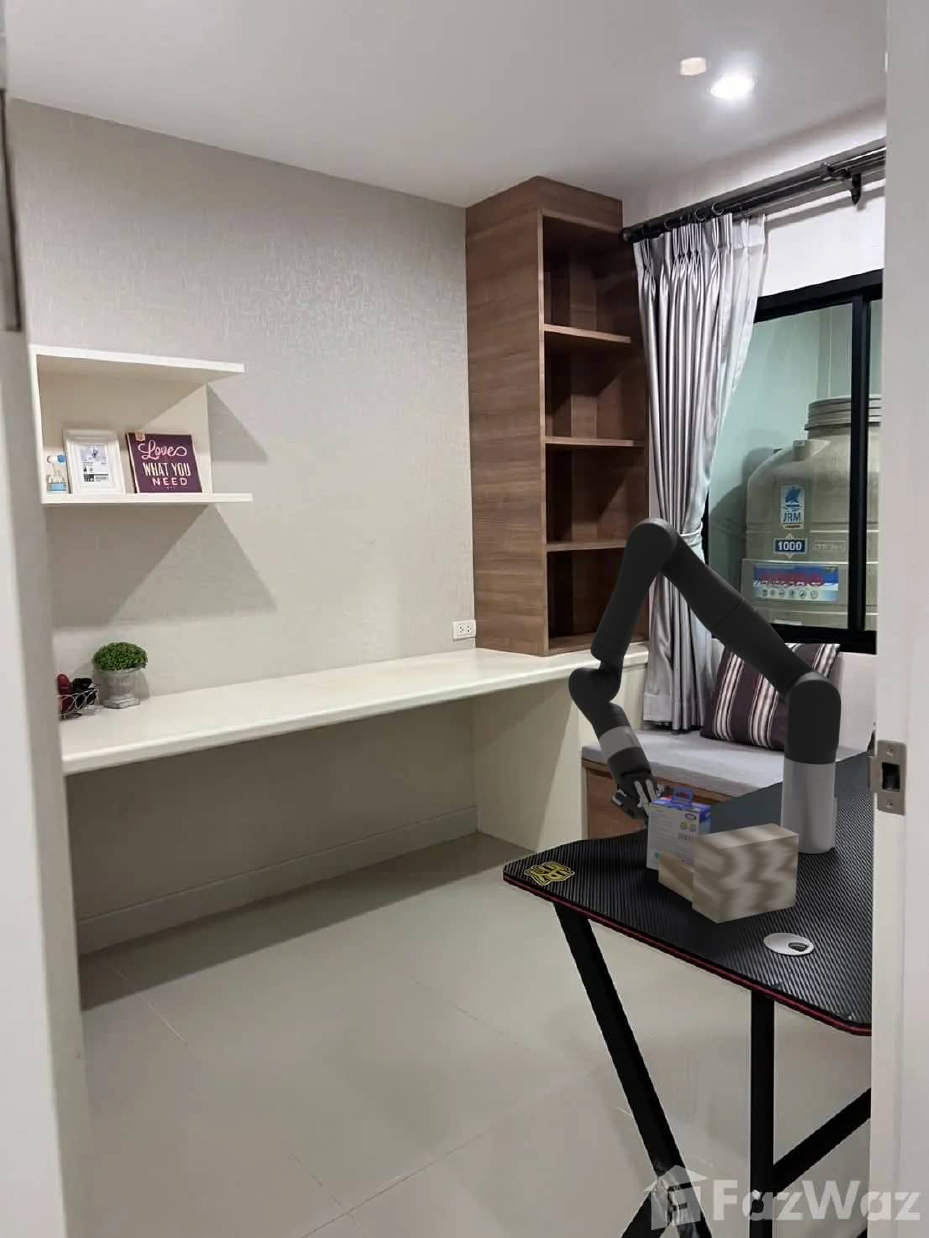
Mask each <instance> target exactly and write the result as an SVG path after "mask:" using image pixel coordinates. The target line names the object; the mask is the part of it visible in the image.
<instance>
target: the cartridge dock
mask: <svg viewBox="0 0 929 1238" xmlns="http://www.w3.org/2000/svg"><path fill="white" fill-rule="evenodd" d="M780 826H781V825H778V824H775V823H773V822H771V823H765V824H760V825H753V826H747V827H741V828H736V829H731V830H725V831H724V830H723V831H717V832H713V833H710V834H706V835H700V836H695V852H694V867H692V866H690V865H688V864H686V863H685V862H683V861H681V860H679V859H677V858H675V857H674V856H672V855H670V854H668V853H662V854H659V870H658V883H660V884H661V885H663V886H665V887H666V888H668V889H670V890H671V891H673V892H675V893H676V894H677V895H679V896H681V897H683V898H685V899H686V900H688V901H689V902H691V903H692V905H691V906H692V907H691V909H692V910H694V911H696V912H698V913H699V914H702V915H703V916H704V917H706V918H708V920H711V921H712V922H714V923H715V924H720V923H726V922H728V921H729V922H731V921H733V920H738V919H743V918H747V917H751V916H756V915H761V914H765V913H768V912H769V913H770V912H773V911H779V910H782V909H788V908H791V907H795V906H796V897H797V896H796V895H797V879H798V878H797V875H798V863H799V862H798V861H799V860H798V859H799V857H798V856H799V852H798V843H799V834H796V833H794V832H792V831H789V830H787V829H785V828H782V827H780Z"/></svg>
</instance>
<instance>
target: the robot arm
mask: <svg viewBox="0 0 929 1238" xmlns="http://www.w3.org/2000/svg"><path fill="white" fill-rule="evenodd" d="M624 546H625V548H624V551H623V557H622V561H621V567H620V571H619V573H618V578H617V580H616V584H615V587H614V588H613V592H612V593H611V597H610V600H609V602H608V603H607V606H606V609H605V610H604V612H603V615H602V618H601V620H600V622H599V625H598V626H597V629H596V632H595V634H594V637H593V639H592V641H591V645H590V651H589V652H590V654H591V656H592V657H593V658H594V659H596V660H597V661H599V662H600V663H599V666H598V667H596V668H595V667H584V666H583V667H577V668H575V669H574V670H573V671H572V672H571V673H570V675H569V677H568V683H567V685H568V687H567V688H568V692H569V694H570V697H571V699H572V702H573V703H574V704H575V705H576V707H577V709H579V711H580V712H581V714H582V715H583V716H584V717H585V718H586V720H587V721H588V722H589V723H590V725H591V726H592V729H593V732H594V733H595V736H596V738H597V741H598V744H599V747H600V750H601V753H602V756H603V759H604V761H605V763H606V765H607V768H608V771H609V773H610V774H611V778H612V780H613V782H614V784H616V792H615V794H614V795H613V796H612V797H611V798H610V802H611V804H613V805H614V806H615V807H617V808H618V809H620V811H622V812H623V813H624V814H626V815H627V816H629V817H630V818H631V819H632V820H634V821H636V820H641V821H642V822H643V823H644V825H645V827H646V830H647V831H648V824H649V803H651V802H653V801H654V800H656V799H658V798H661V797H665V798H670V795H671V791H672V787H671V786H670V785H667V784H666V785H665V786H664V785H662V784H660V783H659V782H658V779H657V778H656V777H655V776H654V775H653V773H652V768H651V767H652V766H651V764H650V762H649V760H648V757H647V756H646V753H645V751H644V749H643V747H642V745H641V742H640V740H639V738H638V736H637V735H636V733H635V732H634V730H633V727H632V726H631V724H630V720H629V719H628V717H627V714H626V713H625V710H624V709H623V708H622V707H621V706H620V705H619V704H616V703H613V702H612V701H613V700H614V699H615V698H616V697H617V695H618V694H619V691H620V690H621V685H622V677H623V670H624V669H623V668H624V662H625V661H624V659H625V656H626V653H627V651H628V650H629V649H628V648H629V647H630V644H631V642H632V639H633V637H634V635H635V631H636V628H637V625H638V622H639V620H640V617H641V613H642V612H641V611H642V609H643V606H644V602H645V599H646V597H647V595H648V592H649V591H650V588H651V587H652V585H653V582H655V579H656V577H657V576H658V575H659V574H660V575H662V576H663V577H664V578H666V579H667V581H668V582H670V584H672V585H673V586H674V587H675V588H676V590H677V591H678V592H679V593H680V594H681V596H682V597H683V599H684V601H685V602H686V604H687V605H688V607H689V608H690V610H691V611H692V613H693V614H694V615H695V617H696V618H697V620H698V621H699V622H700V623H701V625H702V626H703V628H705V629H706V630H707V631H708V632H709V633H710V634H711V635H712V636H713V637H714V638H715V639H716V640H717V641H718V642H719V643H720V644H721V645H723V646H724V647H725V648H726V649H727V650H728V651H729V652H731V653H732V654H733V655H734V656H736V657H737V658H739V659H740V660H741V661H743V662H744V663H746V664H747V665H749V666H750V667H751V668H753V669H754V670H756V671H757V672H758V673H759V674H761V675H762V676H763V677H764V678H765V679H766V681H767V682H768V683H770V685H771V686H772V687H773V689H775V690H776V693H777V694H779V695H780V697H781V698H782V699H783V700H784V702H785V704H786V705H787V722H786V723H787V727H786V729H787V730H786V738H785V741H784V748H783V749H784V750H783V751H784V752H783V769H782V770H783V771H782V772H783V773H782V789H781V811H780V812H781V813H780V825H779V826H780V827H782V828H785V829H787V830H789V831H792V832H794V833H796V834H799V843H798V853H802V854H803V853H804V854H824V853H827V852H829V851H830V850H831V849H832V848H835V845H836V827H837V810H838V809H837V808H838V799H837V798H836V797H834V795H835V779H836V777H835V776H836V763H837V762H836V760H837V759H836V758H837V751H838V748H839V744H840V732H841V721H842V720H841V718H842V697H841V694H840V692H839V690H838V688H837V687H836V685H835V684H834V683H833V682H832V681H831V679H829V678H828V677H827V676H826V675H824V674H822V673H821V672H819V671H818V670H817V669H816V668H815V667H813V666H811V665H810V664H809V663H808V662H807V661H805V660H804V659H803V658H801V656H799V655H798V654H797V653H796V652H795V651H793V649H792V648H790V647H789V645H788V644H786V642H785V641H784V640H783V639H782V637H781V636H780V635H779V634H778V632H777V631H776V630H775V628H773V626H772V625H771V624H770V622H769V621H768V620H767V619H766V618H765V617H764V616H763V615H762V614H761V613H760V612H759V610H757V608H756V607H755V606H754V605H753V604H752V603H750V601H749V600H747V599H746V598H745V597H744V596H743V595H742V594H741V593H740V592H739V591H738V590H737V589H735V587H733V585H731V584H730V583H729V582H728V581H727V580H726V579H724V578H723V577H722V576H721V575H720V574H718V572H716V571H715V569H712V568H711V567H710V566H709V565H708V564H706V563H705V562H704V561H703V559H701V558H700V557H699V556H698V555H697V553H696V552H695V551H694V550H693V549H692V547H691V546H690V545H689V544H688V543H687V542H686V540H685V539H684V538H683V537H682V536H681V534H680V533H679V532H678V531H677V530H676V528H675V527H674V526H673V525H672V524H671V523H670V522H668V521H667V520H665V519H663V518H660V517H659V518H658V517H648V518H645V519H643V520H641V521H640V522H638V523H637V524H635V525H634V526H633V527H632V528H631V529H630V531H629V532H628V533H627V537H626V543H625V545H624Z"/></svg>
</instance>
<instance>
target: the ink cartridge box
mask: <svg viewBox="0 0 929 1238" xmlns="http://www.w3.org/2000/svg"><path fill="white" fill-rule="evenodd" d="M681 793H682V794H685V795H687V796H688V797H687V798H686V797H683V796H682V797H681V796H677V794H681ZM693 796H694V790H689V789H685V788H679V787H674V791H673V792H672V796H671V798H670V797H669V798H665V797H661V798H659V797H657V799H656V800H654V801H653V802H651V803H649V824H648V830H647V833H648V834H647V850H646V866H645V867H646V868H648V869H652V870H656V871H659V854H662V853H668V854H670V855H672V856H674V857H675V858H677V859H679V860H681V861H683V862H685V863H686V864H688V865H690V866H692V867H694V852H695V836H700V835H706V834H711V824H712V823H711V820H712V806H710V805H706V804H701V803H697V802H692V801H693V800H692V799H693Z"/></svg>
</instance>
